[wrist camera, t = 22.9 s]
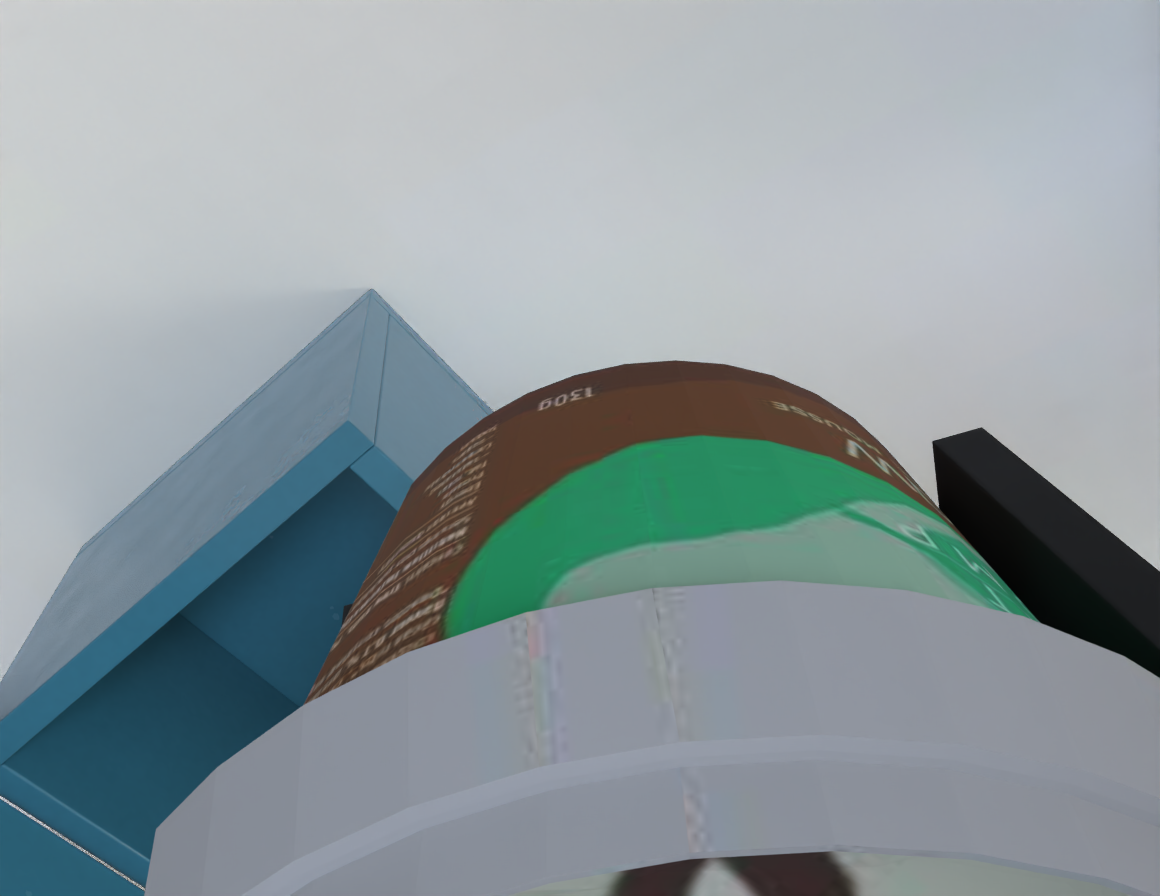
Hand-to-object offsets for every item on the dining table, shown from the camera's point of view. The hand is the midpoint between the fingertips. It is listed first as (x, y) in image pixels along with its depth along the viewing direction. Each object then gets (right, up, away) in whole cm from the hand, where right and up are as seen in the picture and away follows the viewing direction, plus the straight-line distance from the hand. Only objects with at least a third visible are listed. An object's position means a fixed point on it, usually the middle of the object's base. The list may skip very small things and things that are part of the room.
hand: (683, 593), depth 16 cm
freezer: (-10, -3, +29) cm, 31 cm away
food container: (+1, +1, +1) cm, 2 cm away
